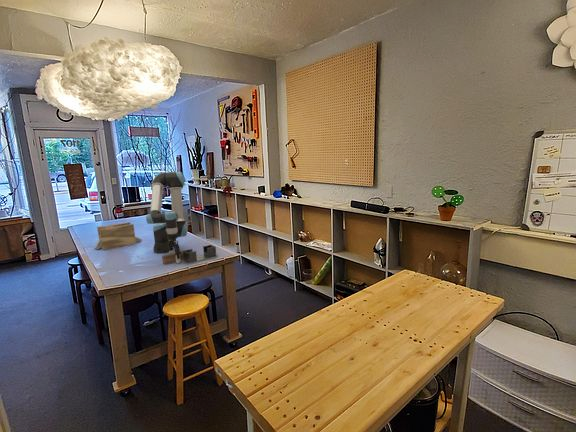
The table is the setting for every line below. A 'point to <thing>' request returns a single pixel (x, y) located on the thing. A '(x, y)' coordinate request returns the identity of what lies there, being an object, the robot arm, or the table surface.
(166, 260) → the rail
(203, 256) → the grey rectangular holder
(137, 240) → the wall bracket
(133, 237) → the cradle
